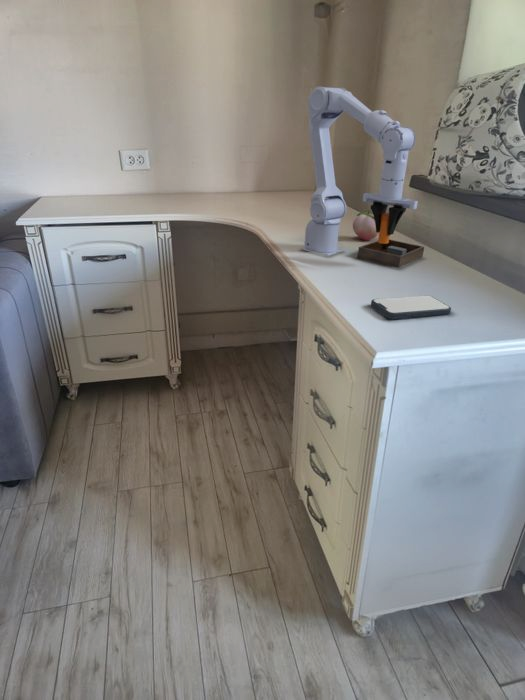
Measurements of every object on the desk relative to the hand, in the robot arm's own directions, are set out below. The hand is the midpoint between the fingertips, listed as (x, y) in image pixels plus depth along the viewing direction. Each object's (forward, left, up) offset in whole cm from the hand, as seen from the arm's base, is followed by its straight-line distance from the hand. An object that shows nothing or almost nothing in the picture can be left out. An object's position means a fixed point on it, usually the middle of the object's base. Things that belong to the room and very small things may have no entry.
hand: (384, 233), depth 130 cm
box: (-3, +12, -10) cm, 16 cm away
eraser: (-3, +15, -9) cm, 18 cm away
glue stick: (0, 0, -2) cm, 2 cm away
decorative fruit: (-18, +24, -10) cm, 32 cm away
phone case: (+20, -22, -10) cm, 31 cm away
